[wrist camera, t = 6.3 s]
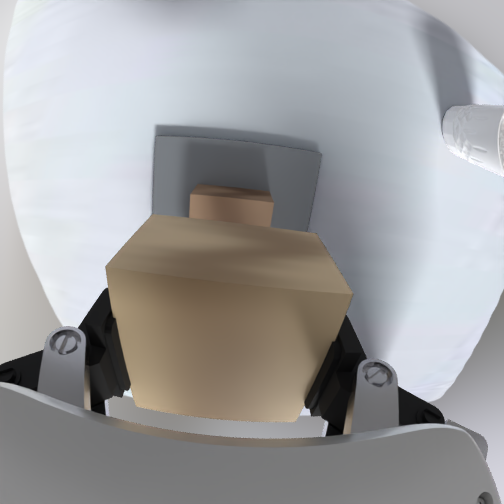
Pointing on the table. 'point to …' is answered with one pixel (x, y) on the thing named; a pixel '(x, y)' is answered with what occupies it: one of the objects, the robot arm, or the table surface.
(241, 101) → the table surface
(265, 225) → the walnut base block
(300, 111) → the table surface
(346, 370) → the robot arm
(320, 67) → the table surface
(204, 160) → the slate board
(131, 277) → the oak block
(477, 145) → the white cup
